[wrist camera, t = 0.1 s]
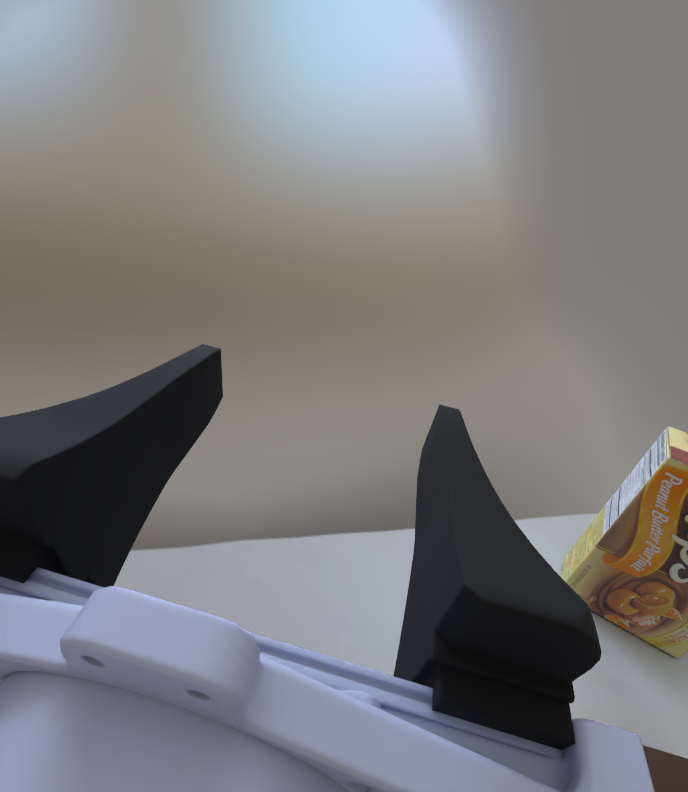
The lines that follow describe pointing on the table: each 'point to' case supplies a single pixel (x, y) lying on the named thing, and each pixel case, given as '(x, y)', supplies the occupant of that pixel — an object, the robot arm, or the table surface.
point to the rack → (667, 771)
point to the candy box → (641, 550)
